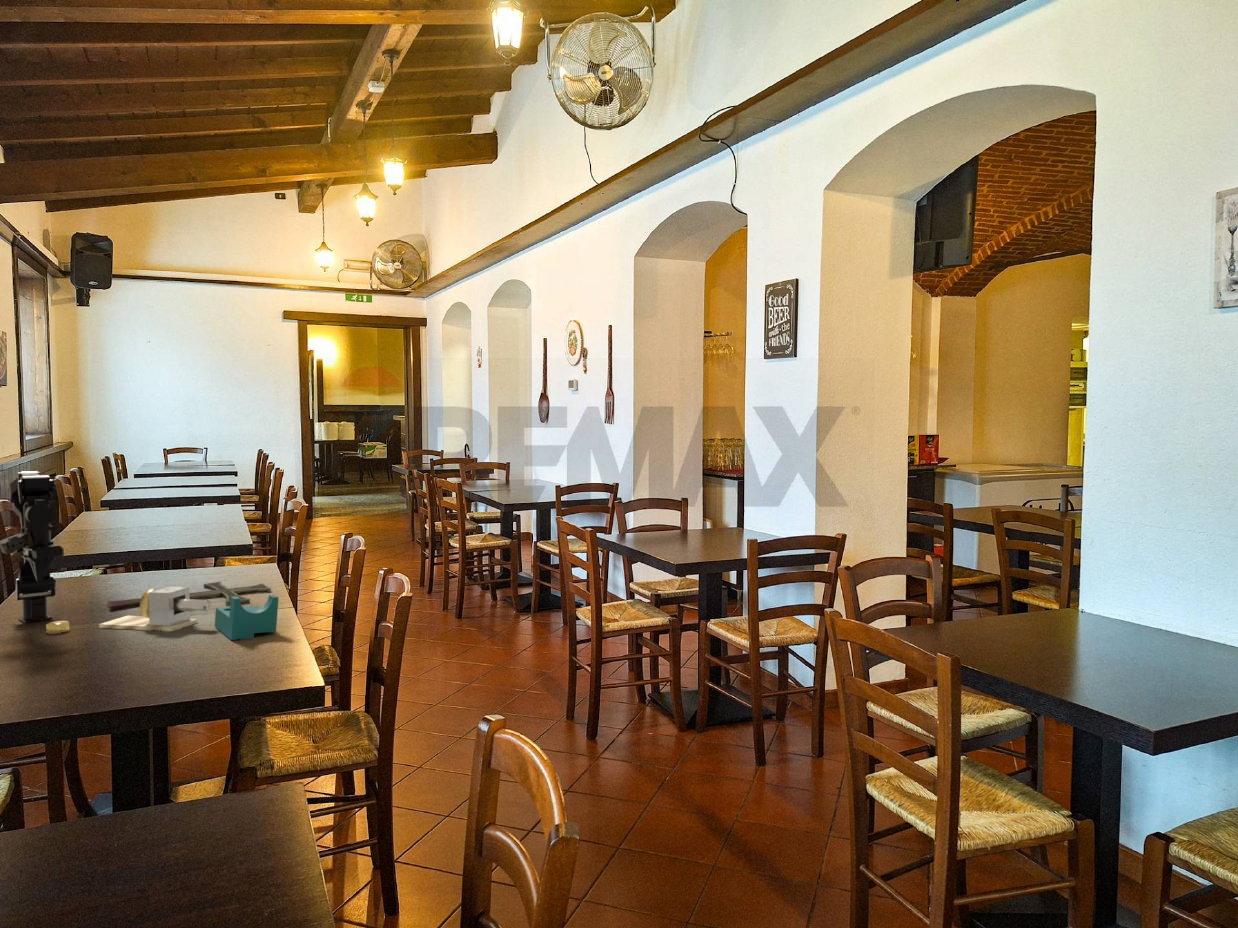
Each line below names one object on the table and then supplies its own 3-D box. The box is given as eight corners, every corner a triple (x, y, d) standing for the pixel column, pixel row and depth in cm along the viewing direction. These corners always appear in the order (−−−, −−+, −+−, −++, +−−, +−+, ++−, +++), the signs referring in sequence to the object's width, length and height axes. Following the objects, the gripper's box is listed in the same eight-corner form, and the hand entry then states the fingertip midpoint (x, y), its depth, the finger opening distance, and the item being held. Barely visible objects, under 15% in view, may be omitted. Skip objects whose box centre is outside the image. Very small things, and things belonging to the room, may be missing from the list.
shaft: (140, 621, 224) (139, 591, 224) (161, 614, 232) (160, 585, 232) (197, 624, 221) (196, 594, 221) (216, 617, 229) (215, 588, 229)
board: (99, 627, 226) (99, 624, 226) (127, 618, 235) (127, 615, 235) (172, 631, 222) (171, 627, 222) (197, 622, 231) (197, 618, 231)
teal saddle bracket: (275, 637, 219) (278, 597, 219) (231, 639, 212) (234, 598, 212) (256, 623, 233) (259, 586, 233) (214, 626, 226) (217, 587, 226)
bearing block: (149, 625, 224) (148, 592, 223) (170, 618, 232) (169, 586, 231) (169, 626, 223) (168, 593, 222) (190, 619, 231) (189, 587, 230)
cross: (101, 594, 262) (253, 577, 290) (101, 599, 262) (253, 583, 290) (116, 614, 234) (282, 594, 262) (116, 621, 235) (283, 600, 262)
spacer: (43, 632, 221) (43, 623, 221) (65, 628, 225) (64, 619, 225) (50, 635, 218) (50, 626, 218) (72, 631, 222) (71, 622, 222)
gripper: (-11, 523, 222) (-9, 581, 223) (13, 528, 210) (15, 590, 211) (38, 519, 231) (40, 575, 231) (63, 524, 219) (65, 583, 220)
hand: (39, 581), depth 223 cm, fingers closed
